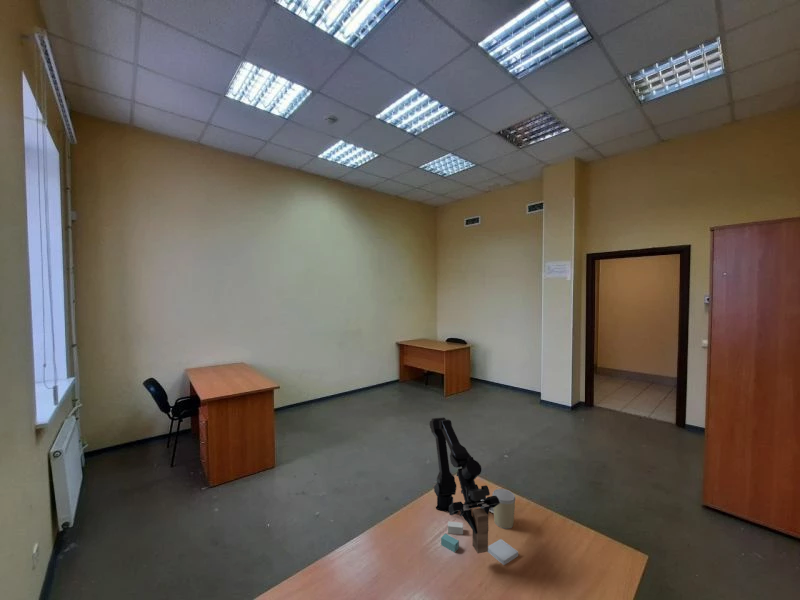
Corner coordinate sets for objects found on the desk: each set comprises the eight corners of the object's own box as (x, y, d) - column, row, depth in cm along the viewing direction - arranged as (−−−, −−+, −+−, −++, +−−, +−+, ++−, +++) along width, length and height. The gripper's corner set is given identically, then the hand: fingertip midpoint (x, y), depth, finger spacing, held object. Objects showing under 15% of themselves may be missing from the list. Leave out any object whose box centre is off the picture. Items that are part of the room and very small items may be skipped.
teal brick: (441, 545, 127) (441, 537, 127) (445, 541, 130) (445, 533, 130) (454, 553, 124) (454, 545, 124) (458, 548, 126) (458, 540, 126)
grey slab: (486, 552, 124) (486, 547, 124) (500, 543, 129) (500, 538, 129) (503, 566, 118) (503, 561, 118) (518, 557, 122) (518, 551, 122)
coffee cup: (512, 516, 144) (512, 488, 144) (517, 531, 135) (517, 502, 135) (490, 514, 145) (490, 487, 145) (494, 529, 136) (494, 500, 136)
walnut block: (472, 545, 120) (472, 509, 120) (482, 543, 121) (482, 508, 121) (477, 553, 116) (477, 516, 116) (487, 551, 117) (488, 514, 117)
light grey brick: (447, 533, 134) (448, 526, 134) (447, 528, 137) (447, 521, 137) (462, 535, 133) (463, 527, 133) (462, 530, 136) (462, 522, 136)
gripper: (451, 481, 120) (465, 532, 109) (497, 474, 125) (514, 522, 114) (443, 490, 127) (455, 539, 117) (486, 483, 132) (501, 530, 122)
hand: (482, 532), depth 117 cm, fingers closed on walnut block, 4 cm apart
